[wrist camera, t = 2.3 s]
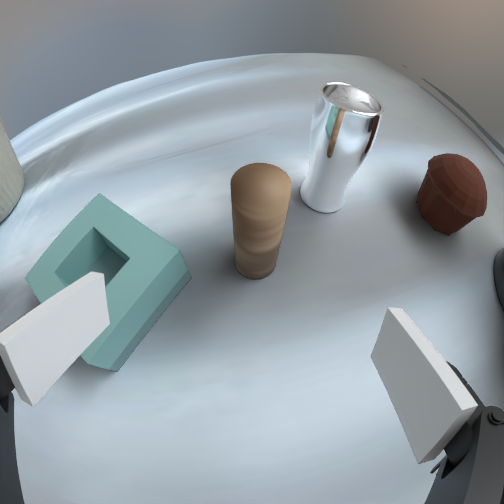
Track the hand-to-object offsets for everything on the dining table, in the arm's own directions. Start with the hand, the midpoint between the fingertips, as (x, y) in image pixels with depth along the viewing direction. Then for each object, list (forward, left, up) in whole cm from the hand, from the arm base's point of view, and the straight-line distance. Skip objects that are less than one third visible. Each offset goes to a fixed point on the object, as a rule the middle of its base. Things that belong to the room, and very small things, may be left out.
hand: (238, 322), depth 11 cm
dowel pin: (+5, -10, -15) cm, 18 cm away
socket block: (+16, +2, -15) cm, 22 cm away
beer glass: (+3, -23, -15) cm, 27 cm away
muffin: (-14, -33, -15) cm, 39 cm away
